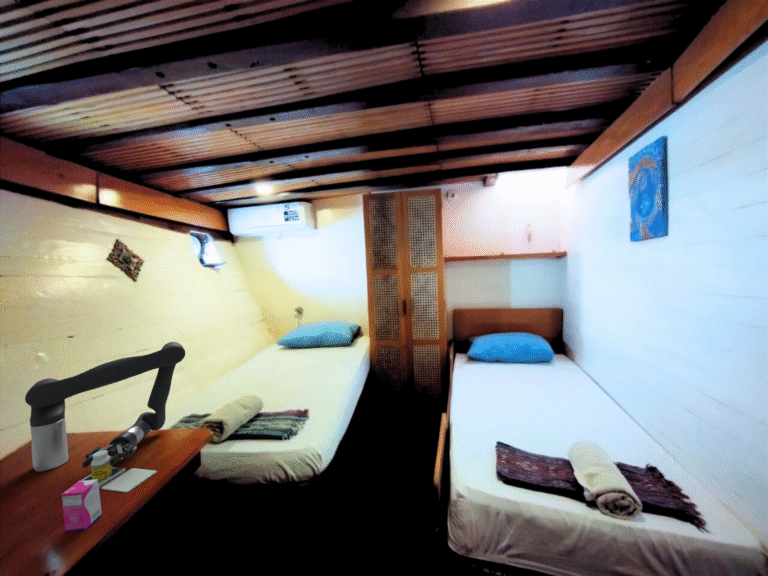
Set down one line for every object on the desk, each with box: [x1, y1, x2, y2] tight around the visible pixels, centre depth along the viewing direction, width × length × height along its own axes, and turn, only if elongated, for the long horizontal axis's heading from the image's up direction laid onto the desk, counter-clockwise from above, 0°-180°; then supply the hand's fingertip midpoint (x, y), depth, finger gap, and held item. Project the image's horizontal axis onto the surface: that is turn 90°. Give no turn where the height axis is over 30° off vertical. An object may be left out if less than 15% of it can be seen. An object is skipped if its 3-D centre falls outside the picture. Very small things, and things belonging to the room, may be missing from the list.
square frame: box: [79, 466, 126, 489], centre depth 113 cm, size 9×9×2 cm
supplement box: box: [60, 479, 103, 533], centre depth 92 cm, size 6×6×12 cm
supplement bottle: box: [90, 450, 113, 482], centre depth 112 cm, size 5×5×10 cm
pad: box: [100, 467, 158, 494], centre depth 112 cm, size 11×11×1 cm
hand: (97, 464), depth 111 cm, fingers open, 8 cm apart
